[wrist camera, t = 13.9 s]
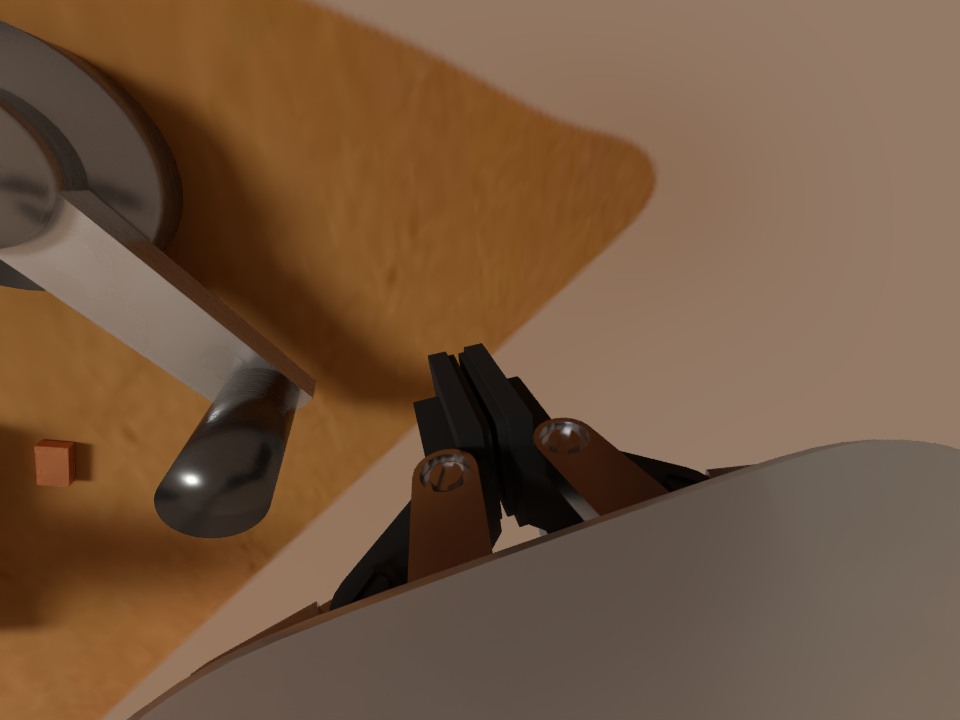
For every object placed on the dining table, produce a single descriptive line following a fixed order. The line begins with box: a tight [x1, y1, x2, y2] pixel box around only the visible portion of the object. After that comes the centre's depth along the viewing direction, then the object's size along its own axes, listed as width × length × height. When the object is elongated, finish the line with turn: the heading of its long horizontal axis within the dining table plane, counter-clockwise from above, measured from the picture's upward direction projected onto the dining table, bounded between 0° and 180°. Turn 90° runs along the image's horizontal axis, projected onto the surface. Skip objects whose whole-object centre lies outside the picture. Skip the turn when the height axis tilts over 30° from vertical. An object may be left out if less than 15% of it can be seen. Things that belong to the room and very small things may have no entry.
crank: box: [0, 88, 316, 538], centre depth 9 cm, size 12×4×6 cm, turn 36°
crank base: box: [0, 20, 182, 487], centre depth 13 cm, size 16×7×2 cm, turn 161°
